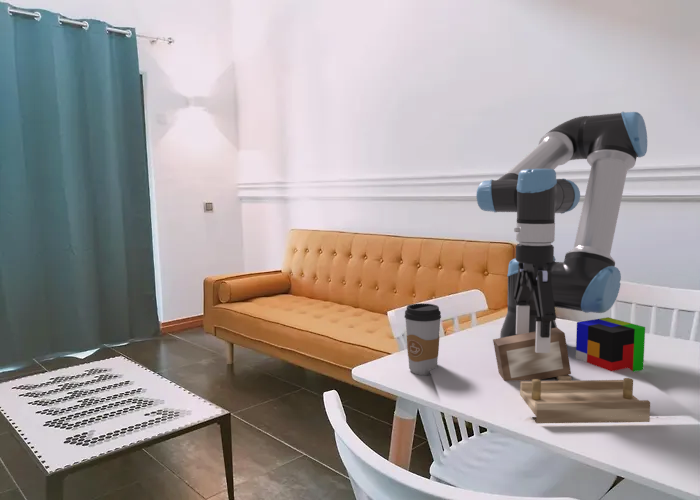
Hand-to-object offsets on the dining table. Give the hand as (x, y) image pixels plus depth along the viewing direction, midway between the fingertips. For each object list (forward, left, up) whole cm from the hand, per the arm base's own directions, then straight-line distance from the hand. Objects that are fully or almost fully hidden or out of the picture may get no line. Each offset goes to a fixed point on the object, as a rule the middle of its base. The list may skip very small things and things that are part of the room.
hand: (531, 342), depth 115 cm
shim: (0, +6, -9) cm, 11 cm away
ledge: (+15, +5, -9) cm, 18 cm away
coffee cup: (-8, -22, -9) cm, 25 cm away
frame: (0, +1, -8) cm, 8 cm away
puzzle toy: (-9, +21, -9) cm, 25 cm away
